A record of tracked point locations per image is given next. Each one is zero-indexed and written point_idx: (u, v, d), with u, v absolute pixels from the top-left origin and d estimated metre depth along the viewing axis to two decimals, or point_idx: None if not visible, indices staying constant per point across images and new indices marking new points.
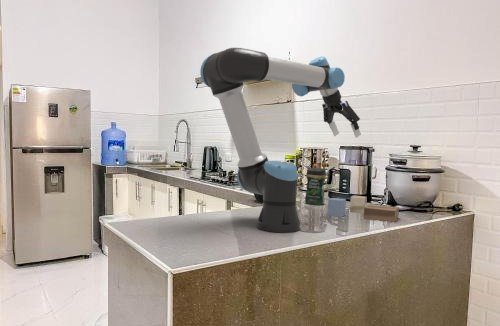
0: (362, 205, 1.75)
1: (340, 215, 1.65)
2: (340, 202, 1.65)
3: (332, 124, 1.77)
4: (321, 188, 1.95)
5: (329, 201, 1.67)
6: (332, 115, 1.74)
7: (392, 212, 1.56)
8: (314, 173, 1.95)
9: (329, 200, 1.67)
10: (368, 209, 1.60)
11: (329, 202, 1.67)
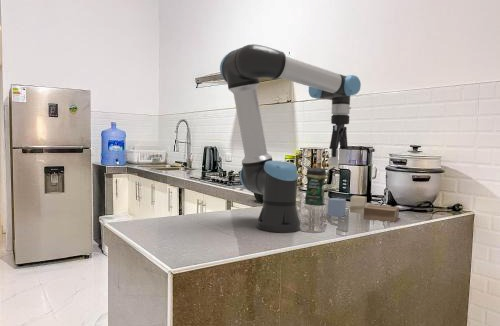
0: (362, 205, 1.75)
1: (340, 215, 1.65)
2: (340, 202, 1.65)
3: (342, 151, 1.73)
4: (321, 188, 1.95)
5: (329, 201, 1.67)
6: (342, 141, 1.71)
7: (392, 212, 1.56)
8: (314, 173, 1.95)
9: (329, 200, 1.67)
10: (368, 209, 1.61)
11: (329, 202, 1.67)
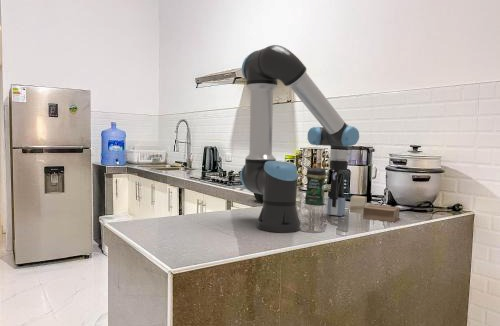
0: (362, 205, 1.75)
1: (340, 214, 1.65)
2: (340, 201, 1.65)
3: None
4: (321, 188, 1.95)
5: (329, 200, 1.67)
6: (339, 187, 1.70)
7: (391, 212, 1.56)
8: (314, 173, 1.95)
9: (329, 199, 1.67)
10: (367, 209, 1.61)
11: (329, 201, 1.67)
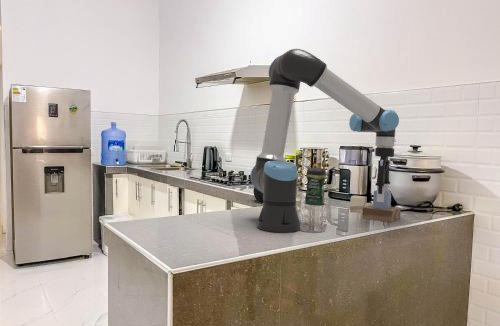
0: (362, 205, 1.75)
1: (386, 207, 1.60)
2: (386, 194, 1.60)
3: (383, 186, 1.68)
4: (321, 188, 1.95)
5: (374, 193, 1.62)
6: (385, 175, 1.66)
7: (389, 212, 1.56)
8: (314, 173, 1.95)
9: (374, 192, 1.62)
10: (366, 209, 1.62)
11: (374, 194, 1.62)
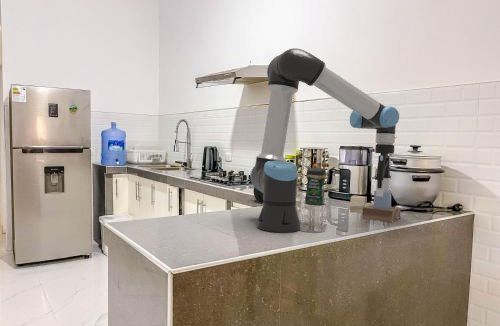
0: (362, 205, 1.75)
1: (387, 207, 1.60)
2: (387, 194, 1.60)
3: (384, 180, 1.69)
4: (321, 188, 1.95)
5: (375, 193, 1.62)
6: (385, 170, 1.67)
7: (389, 212, 1.56)
8: (314, 173, 1.95)
9: (375, 192, 1.62)
10: (366, 209, 1.62)
11: (375, 194, 1.62)
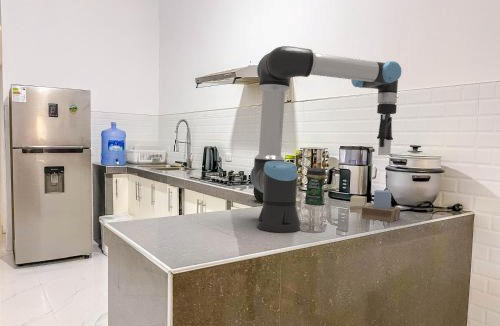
0: (362, 205, 1.75)
1: (387, 207, 1.60)
2: (387, 194, 1.60)
3: (386, 142, 1.68)
4: (321, 188, 1.95)
5: (375, 193, 1.62)
6: (387, 131, 1.66)
7: (389, 212, 1.56)
8: (314, 173, 1.95)
9: (375, 192, 1.62)
10: (366, 209, 1.62)
11: (375, 194, 1.62)
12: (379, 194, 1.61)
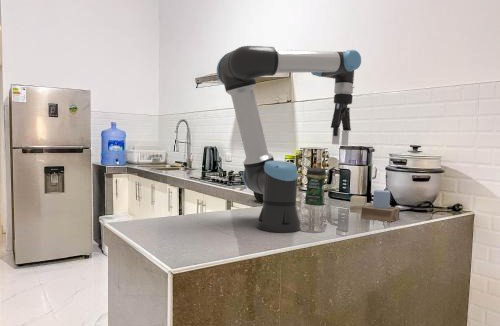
0: (362, 205, 1.75)
1: (386, 207, 1.60)
2: (386, 194, 1.60)
3: (344, 132, 1.69)
4: (321, 188, 1.95)
5: (374, 193, 1.62)
6: (345, 122, 1.67)
7: (388, 212, 1.56)
8: (314, 173, 1.95)
9: (374, 192, 1.62)
10: (365, 209, 1.62)
11: (374, 194, 1.62)
12: (378, 194, 1.61)
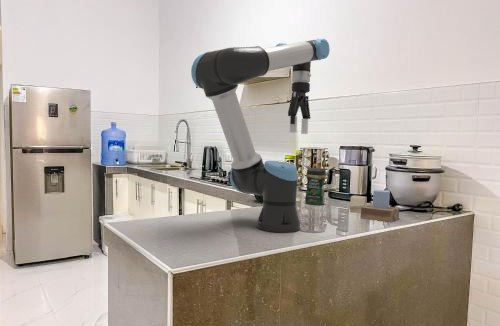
0: (362, 205, 1.75)
1: (386, 207, 1.61)
2: (386, 194, 1.60)
3: (303, 120, 1.71)
4: (321, 188, 1.95)
5: (374, 193, 1.62)
6: (304, 110, 1.69)
7: (388, 212, 1.56)
8: (314, 173, 1.95)
9: (374, 192, 1.62)
10: (365, 209, 1.62)
11: (374, 194, 1.62)
12: (378, 194, 1.62)
